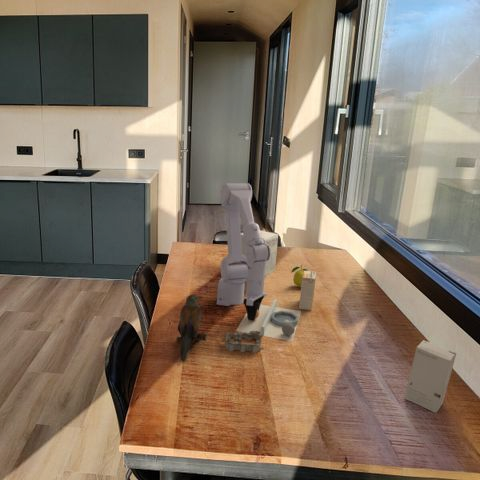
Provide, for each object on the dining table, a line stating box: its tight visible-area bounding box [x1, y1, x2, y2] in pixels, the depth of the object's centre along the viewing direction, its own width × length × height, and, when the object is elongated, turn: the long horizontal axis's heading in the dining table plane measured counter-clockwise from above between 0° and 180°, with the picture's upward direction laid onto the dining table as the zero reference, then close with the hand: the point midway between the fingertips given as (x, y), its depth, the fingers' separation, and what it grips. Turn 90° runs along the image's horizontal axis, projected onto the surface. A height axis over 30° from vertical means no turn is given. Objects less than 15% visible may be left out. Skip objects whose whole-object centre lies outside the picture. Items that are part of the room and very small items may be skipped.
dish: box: [271, 311, 300, 327], centre depth 145 cm, size 9×9×2 cm
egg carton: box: [225, 331, 262, 354], centre depth 129 cm, size 11×8×4 cm
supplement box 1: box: [236, 229, 279, 277], centre depth 192 cm, size 13×13×18 cm
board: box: [235, 303, 302, 342], centre depth 145 cm, size 18×23×1 cm
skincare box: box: [403, 340, 457, 414], centre depth 106 cm, size 8×6×15 cm
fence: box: [260, 298, 278, 337], centre depth 144 cm, size 1×23×3 cm, turn 165°
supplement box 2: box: [298, 270, 317, 311], centre depth 158 cm, size 8×5×13 cm, turn 168°
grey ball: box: [282, 323, 296, 336], centre depth 135 cm, size 4×4×4 cm
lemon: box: [290, 264, 309, 288], centre depth 177 cm, size 7×6×10 cm
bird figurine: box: [175, 294, 209, 363], centre depth 127 cm, size 13×10×20 cm
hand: (252, 317), depth 145 cm, fingers closed on rust ball, 4 cm apart
